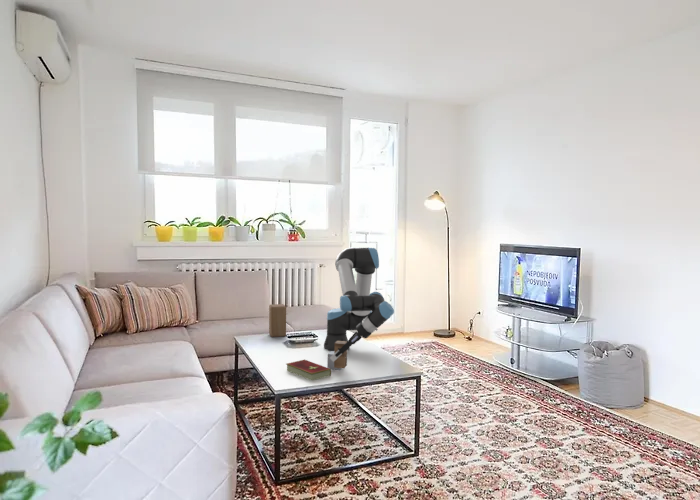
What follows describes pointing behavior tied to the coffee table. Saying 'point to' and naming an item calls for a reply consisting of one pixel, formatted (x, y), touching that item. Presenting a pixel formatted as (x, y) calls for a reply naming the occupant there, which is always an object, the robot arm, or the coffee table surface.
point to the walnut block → (341, 360)
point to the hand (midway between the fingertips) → (333, 358)
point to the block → (277, 320)
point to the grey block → (331, 362)
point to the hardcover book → (308, 369)
